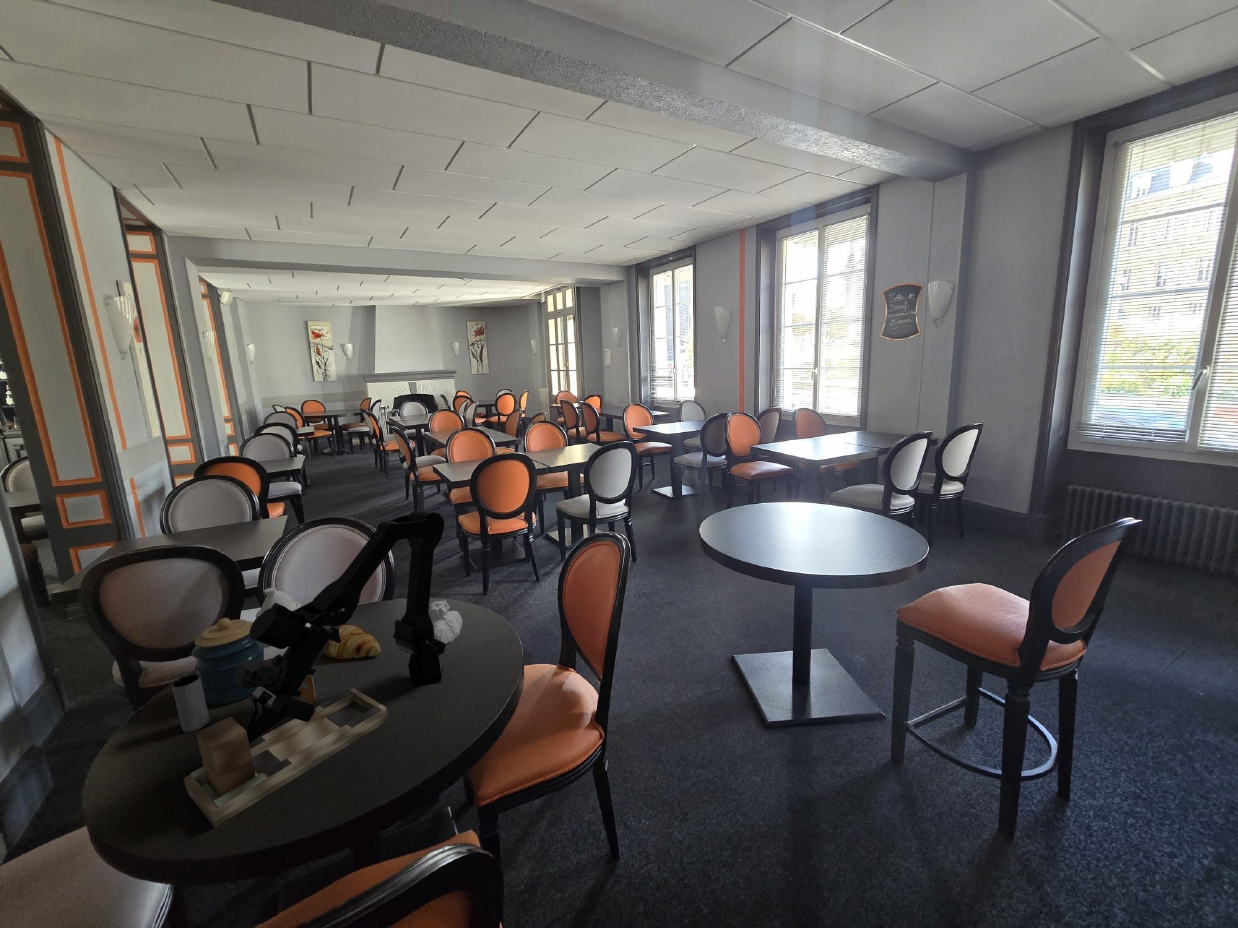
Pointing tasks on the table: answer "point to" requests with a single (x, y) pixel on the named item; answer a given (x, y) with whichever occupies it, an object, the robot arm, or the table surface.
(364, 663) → the table surface
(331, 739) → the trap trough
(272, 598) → the honey pot
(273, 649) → the small box
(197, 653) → the canister
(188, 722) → the planter
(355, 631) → the croissant
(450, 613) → the white lumpy piece
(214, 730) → the walnut block
